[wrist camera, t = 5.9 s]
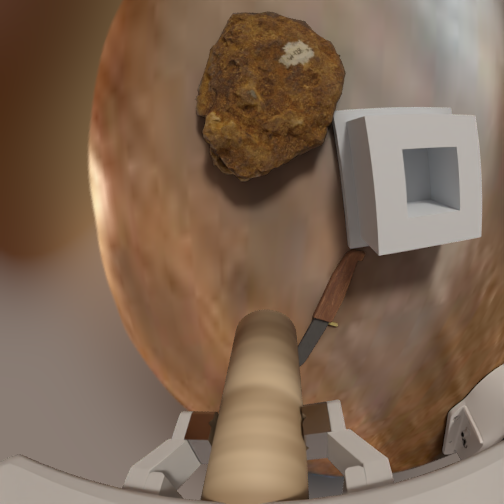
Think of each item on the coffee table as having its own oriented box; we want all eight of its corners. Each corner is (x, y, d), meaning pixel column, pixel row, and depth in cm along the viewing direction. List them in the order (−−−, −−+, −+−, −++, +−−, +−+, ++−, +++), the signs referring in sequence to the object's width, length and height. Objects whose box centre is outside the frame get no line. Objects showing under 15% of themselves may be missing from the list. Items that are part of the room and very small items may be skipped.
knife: (304, 386, 32) (279, 380, 32) (303, 380, 33) (279, 374, 33) (373, 257, 27) (345, 246, 27) (370, 253, 28) (343, 243, 28)
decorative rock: (310, 195, 27) (343, 44, 22) (321, 202, 23) (357, 29, 18) (183, 168, 26) (220, 16, 21) (172, 171, 22) (216, -4, 17)
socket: (454, 228, 26) (488, 246, 20) (347, 245, 27) (366, 270, 22) (445, 108, 22) (481, 104, 17) (330, 112, 23) (348, 102, 18)
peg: (299, 355, 17) (311, 555, 6) (242, 361, 18) (211, 555, 6) (292, 305, 16) (308, 531, 5) (230, 313, 17) (175, 527, 5)
